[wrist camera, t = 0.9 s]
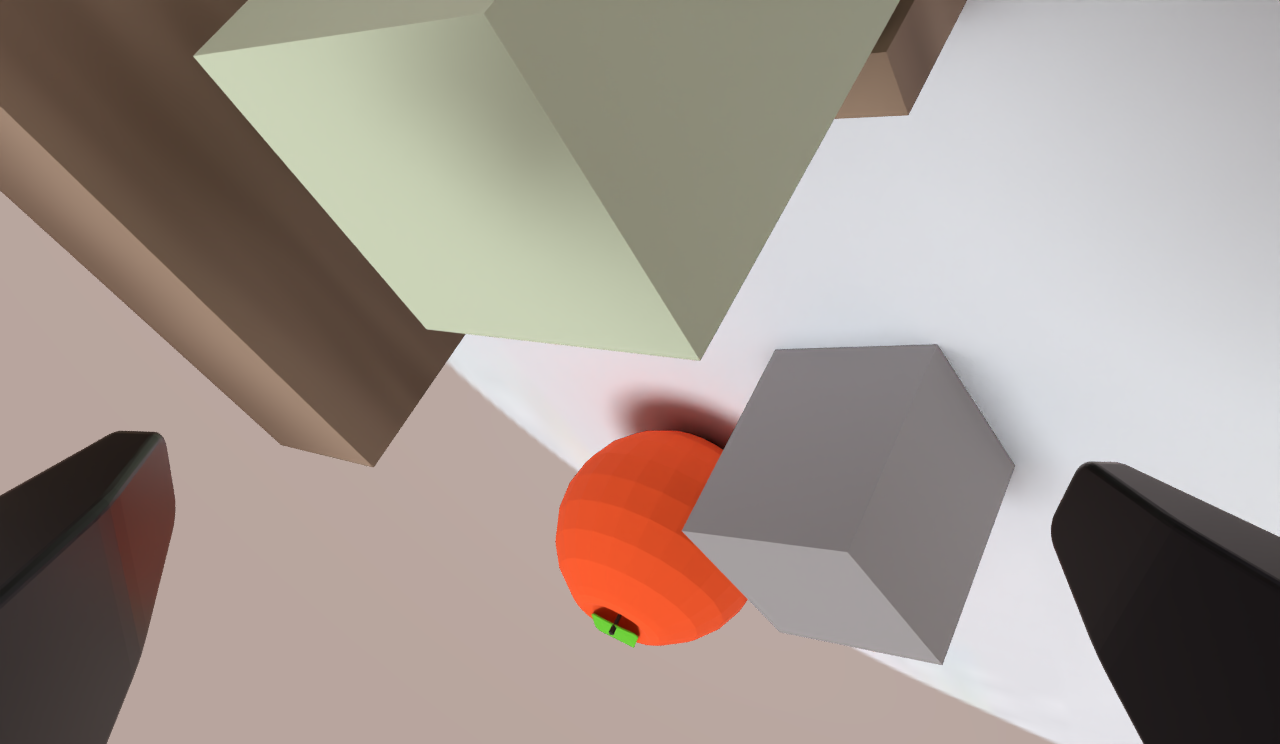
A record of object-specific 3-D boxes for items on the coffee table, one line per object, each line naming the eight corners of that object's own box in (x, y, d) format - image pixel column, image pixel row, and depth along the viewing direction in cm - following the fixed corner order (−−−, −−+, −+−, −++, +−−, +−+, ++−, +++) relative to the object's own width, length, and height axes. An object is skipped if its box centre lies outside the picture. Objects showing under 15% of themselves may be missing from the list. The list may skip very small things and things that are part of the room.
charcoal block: (937, 342, 26) (847, 552, 24) (1015, 464, 29) (942, 665, 26) (775, 348, 30) (681, 530, 27) (858, 456, 33) (779, 632, 30)
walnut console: (752, -792, 12) (147, -350, 7) (995, 90, 20) (774, 565, 15) (180, -417, 19) (-298, -80, 15) (524, 118, 27) (280, 445, 22)
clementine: (786, 542, 40) (704, 718, 37) (619, 466, 42) (527, 629, 39) (814, 445, 33) (716, 652, 30) (613, 358, 35) (500, 546, 32)
